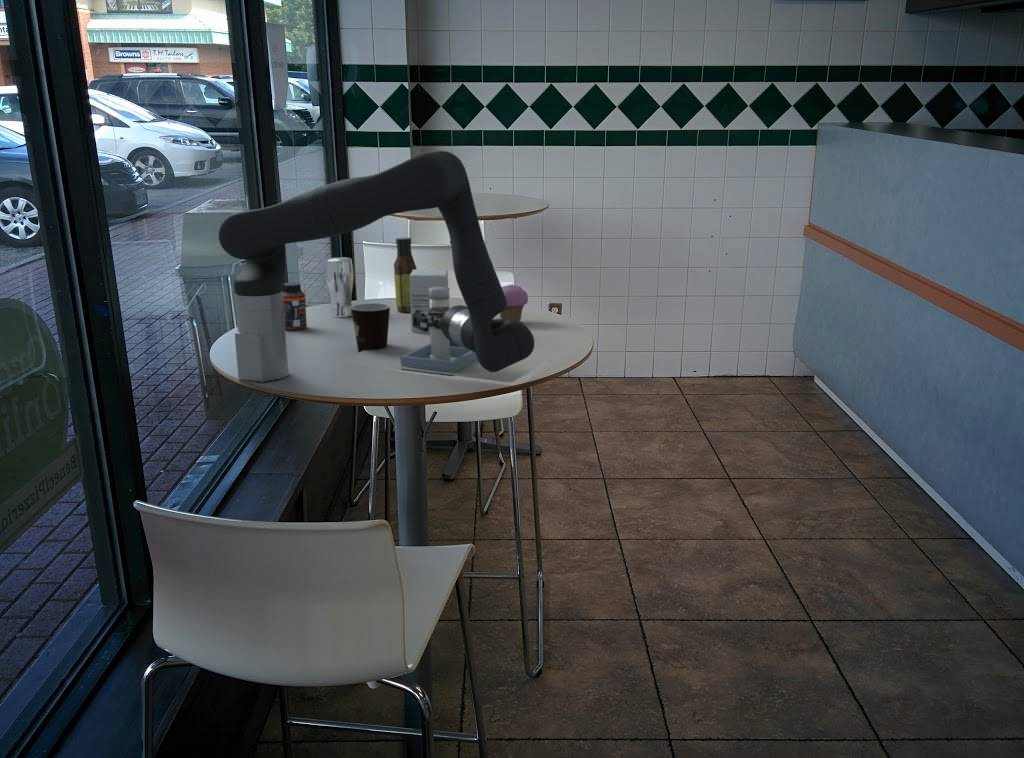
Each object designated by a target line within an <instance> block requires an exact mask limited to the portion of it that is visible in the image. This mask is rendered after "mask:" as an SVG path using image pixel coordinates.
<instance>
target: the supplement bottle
mask: <svg viewBox="0 0 1024 758" xmlns="http://www.w3.org/2000/svg"><path fill="white" fill-rule="evenodd" d="M301 286H302V285H301V283H300V282H286V283H283V290H284V291H283V303H284V318H285V331H301V329H302V330H305V329H306V328H307V325H308V324H307V310H306V309H307V307H306V305H307V304H306V294H305V292H304V291H302V287H301ZM304 328H305V329H304Z"/></svg>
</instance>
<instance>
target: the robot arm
mask: <svg viewBox="0 0 1024 758" xmlns="http://www.w3.org/2000/svg"><path fill="white" fill-rule="evenodd" d="M473 198H474V197H473V194H472V190H471V184H470V180H469V177H468V173H467V170H466V167H465V166H464V164H463V162H462V160H461V159H460V158H459V157H458V156H457V155H455V154H454V153H452V152H450V151H446V150H438V151H431V152H426V153H421V154H418V155H415V156H413V157H411V158H409V159H407V160H405V161H403V162H401V163H399V164H397V165H395V166H392V167H390V168H388V169H385V170H383V171H381V172H378V173H375V174H372V175H365V176H364V175H363V176H356V177H349V178H347V179H342V180H336V181H335V182H334V181H333V182H331V183H328V184H324V185H322V186H318V187H316V188H313V189H311V190H308V191H305V192H303V193H300V194H298V195H295V196H293V197H290V198H288V199H285V200H284V201H281V202H279V203H276V204H274V205H270V206H265V207H262V208H257V209H256V208H255V209H250V210H249V209H248V210H241V211H236V212H234V213H231V214H230V215H228V216H227V217H226V218H225V219H224V220H223V221H222V223H221V224H220V227H219V231H218V240H219V241H218V242H219V245H220V246H221V248H222V249H223V250H224V252H225V253H226V254H228V255H230V256H231V257H232V258H235V259H239V260H246V263H245V266H244V268H243V269H242V271H241V272H240V273H239V274H238V275H237V276H236V277H235V278H234V280H233V291H234V302H235V312H236V313H235V314H236V316H235V317H236V324H237V325H236V326H237V332H235V334H234V341H235V342H234V343H235V352H236V365H237V378H238V380H242V381H248V380H254V381H253V382H256V381H260V382H259V383H265V381H266V382H269V381H270V380H271V381H277V380H281V379H283V378H286V377H287V376H288V375H289V363H288V362H289V361H288V349H287V347H288V345H287V333H286V330H285V318H284V303H283V292H284V291H283V290H284V288H283V284H284V279H285V276H286V244H292V243H302V242H303V243H304V242H308V241H309V242H310V241H311V242H312V241H315V240H316V241H317V240H321V239H328V238H332V237H336V236H340V235H343V234H348V233H351V232H354V231H357V230H359V229H362V228H365V227H367V226H369V225H371V224H373V223H375V222H377V221H378V220H380V219H383V218H384V217H387V216H390V215H395V214H401V213H407V212H411V211H419V210H430V209H431V210H432V209H436V208H437V209H438V210H439V212H440V215H441V216H442V217H443V220H444V222H445V225H446V228H447V231H448V235H449V239H450V246H451V254H452V264H453V265H452V266H453V271H454V275H455V276H454V278H455V281H456V283H457V286H458V288H459V290H460V294H461V296H462V298H463V300H464V303H465V305H461V304H459V305H454V306H452V307H449V310H448V311H444V312H437V311H432V312H429V313H425V312H423V311H421V310H416V312H414V314H412V317H413V327H415V328H417V329H419V330H422V331H424V332H427V331H429V328H430V329H437V330H441V331H442V332H443V334H444V336H445V337H446V338H447V339H448V340H450V341H452V342H453V343H455V344H457V345H459V346H461V347H463V348H465V349H468V350H471V351H473V352H475V353H476V356H477V359H476V360H477V361H478V363H479V364H480V367H482V368H483V369H484V370H485V371H488V372H490V373H497V372H500V371H501V370H502V371H503V370H504V369H506V368H508V367H510V366H512V365H514V364H517V363H518V362H521V361H523V360H526V359H527V358H528V357H530V356H531V354H532V353H533V351H534V349H535V337H534V334H533V333H532V331H531V330H530V328H529V327H527V325H526V324H524V323H523V322H521V321H516V320H511V319H501V318H495V317H497V316H498V315H500V312H502V311H503V310H504V309H505V308H506V307H507V300H506V297H505V294H504V292H503V289H502V287H503V286H502V284H501V282H500V280H499V277H498V274H497V272H496V270H495V268H494V267H495V266H494V265H493V262H492V261H491V256H490V254H489V252H488V248H487V246H486V242H485V239H484V236H483V232H482V228H481V225H480V221H479V217H478V213H477V211H476V206H475V202H474V199H473ZM435 315H438V316H437V317H436V318H435ZM426 316H427V317H426ZM428 317H429V321H428ZM494 318H495V319H494ZM243 379H244V380H243ZM276 379H277V380H276ZM271 381H270V382H271Z"/></svg>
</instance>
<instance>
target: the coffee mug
mask: <svg viewBox="0 0 1024 758" xmlns="http://www.w3.org/2000/svg"><path fill="white" fill-rule="evenodd" d="M351 311H352V316H351V317H352V322H353V329H354V335H355V341H356V347H357V351H358V353H361V352H363V351H375V350H376V351H377V350H382V349H385V348H387V347H388V337H389V336H388V334H389V326H390V325H389V324H390V311H391V306H390V305H389V304H385V303H378V302H377V303H376V302H375V303H372V302H370V303H360V304H359V303H358V304H354V305H352V307H351Z"/></svg>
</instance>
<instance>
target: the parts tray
mask: <svg viewBox="0 0 1024 758" xmlns="http://www.w3.org/2000/svg"><path fill="white" fill-rule="evenodd" d="M430 354H431V346H430V343H427V344H425V345H423V346H421V347H418V348H416V349H414V350H412V351H410V352H408V353H406V354H403V355H401V356H400V366H402V367H408V368H419V369H427V370H428V369H429V370H432V371H434V370H435V371H440V372H441V371H442V372H450V373H453V372H455V371H457V370H459V369H461V368H463V367H464V366H466V365H468V364H469V363H471V362H472V363H473V362H474V361H475V360H478V359H477V356H476V353H475V352H473V351H471V350H468V349H465V348H462V347H453V346H450V357H456V358H454V359H452V360H450V361H444V360H435V359H430V358H425V357H426V356H429V355H430ZM400 370H401V371H406V372H413V373H414V372H416V373H422V374H430V375H436V376H437V375H438V376H439V375H440V376H447V377H454V376H455V374H448V373H440V372H439V373H438V372H431V371H423V370H415V369H407V368H401V369H400Z"/></svg>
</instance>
